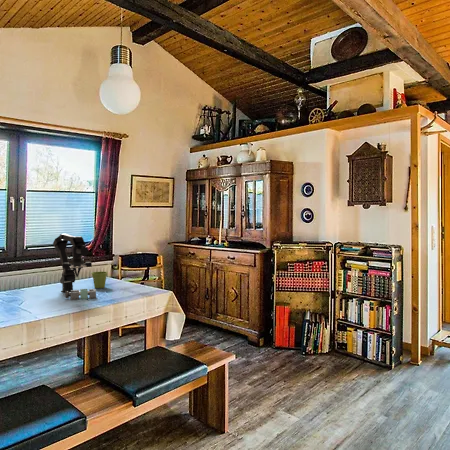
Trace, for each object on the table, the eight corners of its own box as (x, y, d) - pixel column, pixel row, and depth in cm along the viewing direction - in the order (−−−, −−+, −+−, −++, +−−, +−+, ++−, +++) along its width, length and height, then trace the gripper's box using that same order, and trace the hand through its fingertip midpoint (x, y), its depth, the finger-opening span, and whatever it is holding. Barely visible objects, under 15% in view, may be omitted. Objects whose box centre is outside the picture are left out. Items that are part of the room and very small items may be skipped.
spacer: (80, 299, 253) (80, 290, 252) (80, 297, 258) (80, 289, 258) (87, 298, 254) (87, 290, 254) (87, 296, 260) (87, 288, 260)
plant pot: (110, 286, 294) (110, 271, 294) (102, 289, 282) (102, 274, 282) (96, 285, 296) (96, 271, 296) (88, 288, 285) (88, 273, 284)
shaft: (65, 298, 250) (65, 291, 250) (65, 297, 254) (65, 290, 254) (92, 296, 256) (92, 290, 256) (92, 295, 260) (92, 288, 260)
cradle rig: (70, 300, 250) (70, 292, 249) (70, 297, 257) (70, 290, 257) (95, 298, 255) (95, 291, 255) (95, 295, 263) (95, 288, 262)
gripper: (61, 256, 254) (62, 280, 254) (91, 255, 260) (91, 278, 261) (62, 254, 264) (62, 277, 265) (91, 253, 271) (91, 275, 271)
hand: (77, 277), depth 265 cm, fingers closed
